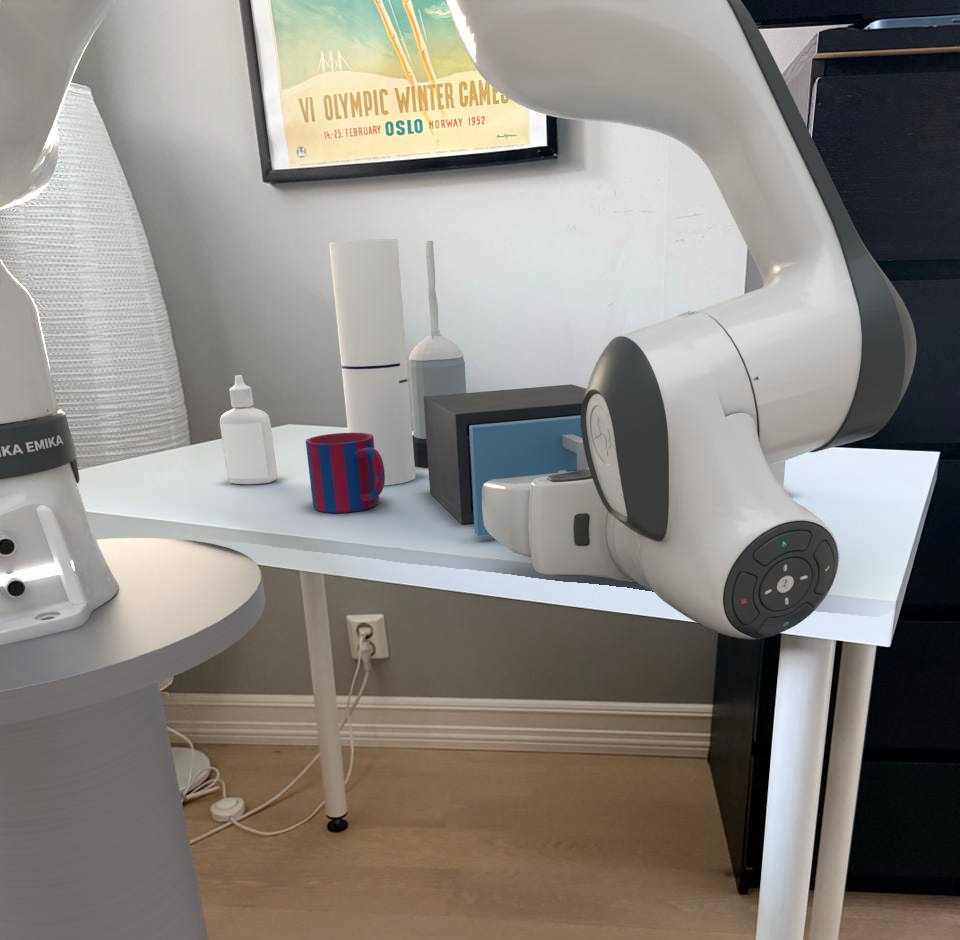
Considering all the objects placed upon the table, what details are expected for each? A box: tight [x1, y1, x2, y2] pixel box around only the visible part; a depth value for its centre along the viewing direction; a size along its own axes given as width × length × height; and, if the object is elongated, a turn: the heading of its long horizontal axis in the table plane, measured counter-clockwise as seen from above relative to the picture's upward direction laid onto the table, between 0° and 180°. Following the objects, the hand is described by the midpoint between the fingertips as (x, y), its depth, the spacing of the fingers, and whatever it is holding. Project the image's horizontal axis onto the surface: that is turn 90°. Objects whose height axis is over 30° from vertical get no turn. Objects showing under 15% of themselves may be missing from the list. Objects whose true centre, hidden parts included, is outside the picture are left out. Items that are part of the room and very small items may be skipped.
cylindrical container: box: [328, 238, 416, 487], centre depth 101 cm, size 7×7×25 cm
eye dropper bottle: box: [219, 374, 278, 485], centre depth 106 cm, size 4×6×12 cm
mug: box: [305, 432, 385, 514], centre depth 92 cm, size 7×10×7 cm
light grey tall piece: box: [407, 240, 467, 468], centre depth 110 cm, size 8×8×25 cm
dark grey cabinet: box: [424, 384, 587, 525], centre depth 92 cm, size 14×16×10 cm
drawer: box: [467, 415, 589, 537], centre depth 83 cm, size 19×16×9 cm
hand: (582, 477), depth 76 cm, fingers closed on drawer, 2 cm apart
